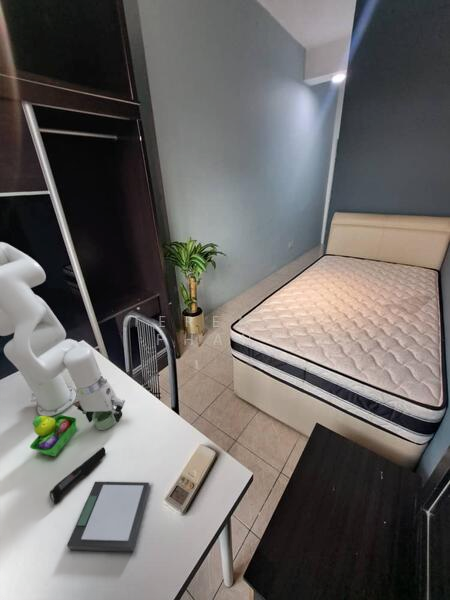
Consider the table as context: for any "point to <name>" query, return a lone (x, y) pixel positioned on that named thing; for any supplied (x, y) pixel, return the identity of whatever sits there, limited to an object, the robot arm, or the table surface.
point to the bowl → (103, 419)
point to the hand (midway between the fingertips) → (105, 418)
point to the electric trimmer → (76, 475)
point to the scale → (111, 517)
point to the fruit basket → (52, 433)
